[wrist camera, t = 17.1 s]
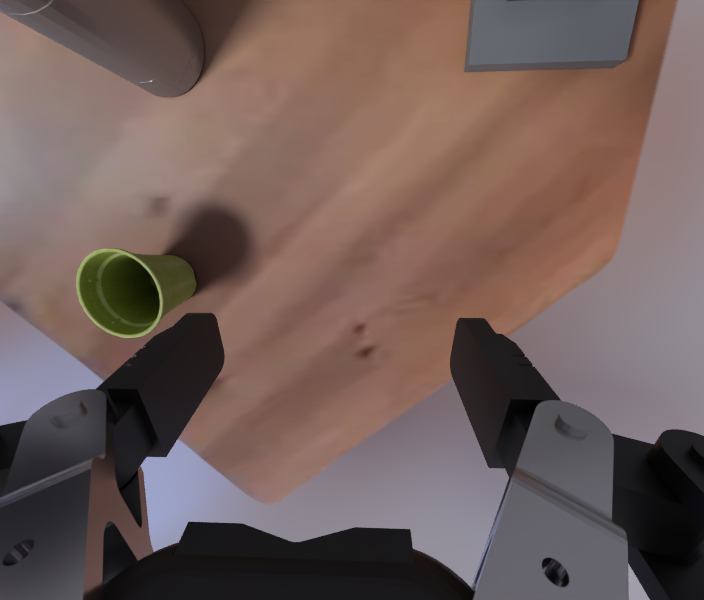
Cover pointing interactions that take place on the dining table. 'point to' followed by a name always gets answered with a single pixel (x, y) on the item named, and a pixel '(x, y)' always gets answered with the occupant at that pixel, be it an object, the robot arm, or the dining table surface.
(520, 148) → the dining table surface
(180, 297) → the plant pot
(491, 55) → the dock
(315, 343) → the dining table surface
